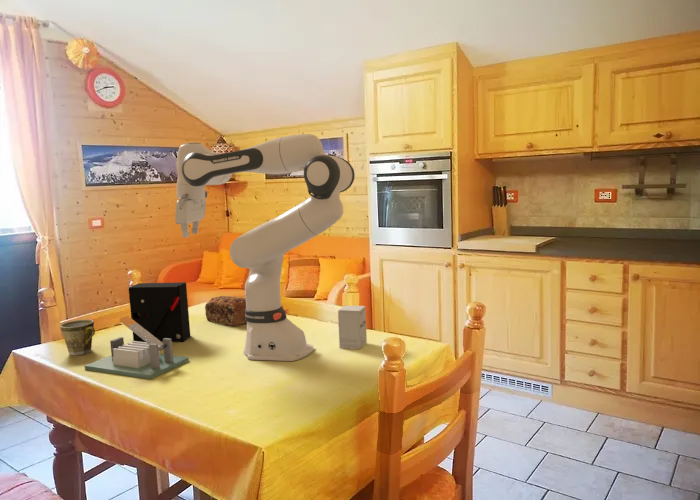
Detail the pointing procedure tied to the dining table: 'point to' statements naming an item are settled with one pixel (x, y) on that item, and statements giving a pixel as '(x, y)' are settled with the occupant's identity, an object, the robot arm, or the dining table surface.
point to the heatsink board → (138, 359)
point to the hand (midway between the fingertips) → (190, 235)
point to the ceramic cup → (78, 336)
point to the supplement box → (352, 327)
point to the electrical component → (161, 310)
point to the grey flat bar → (141, 332)
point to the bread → (226, 310)
